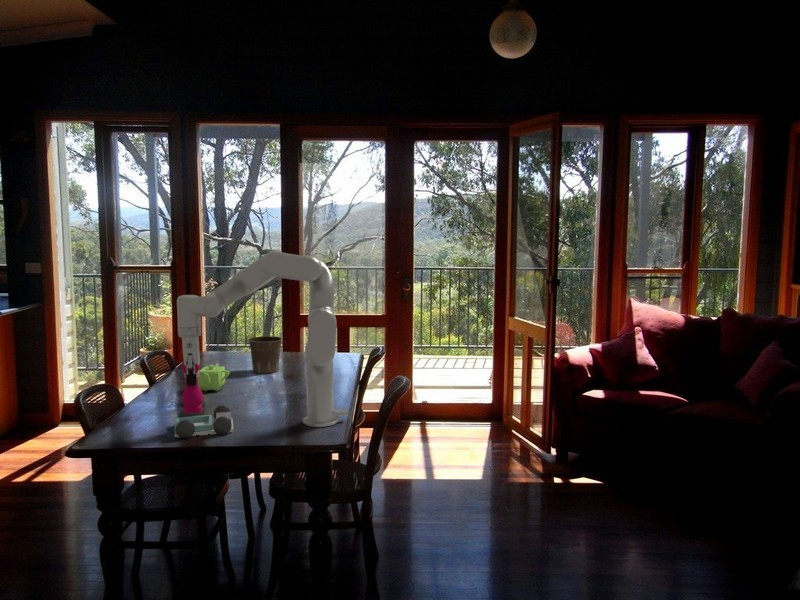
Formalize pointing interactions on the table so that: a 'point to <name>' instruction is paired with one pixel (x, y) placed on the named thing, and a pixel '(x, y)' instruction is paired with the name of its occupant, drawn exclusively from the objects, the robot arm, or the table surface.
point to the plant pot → (265, 353)
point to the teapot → (212, 377)
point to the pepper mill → (192, 394)
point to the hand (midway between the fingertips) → (191, 383)
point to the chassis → (204, 423)
